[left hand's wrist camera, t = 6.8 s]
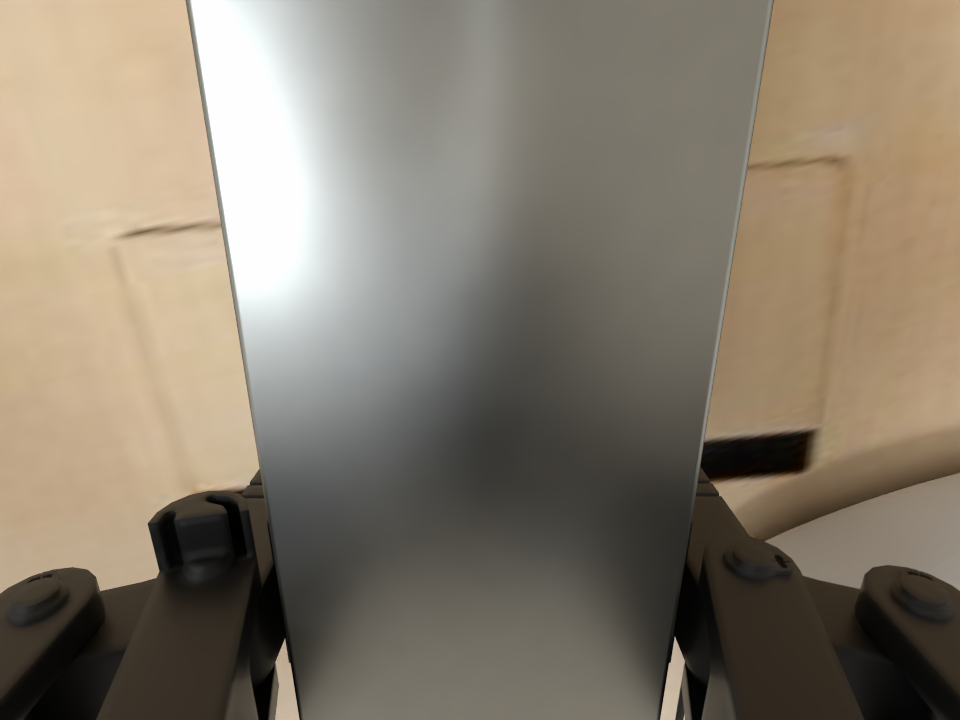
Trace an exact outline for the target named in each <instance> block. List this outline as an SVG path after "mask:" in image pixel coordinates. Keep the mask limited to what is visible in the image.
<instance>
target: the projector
mask: <svg viewBox="0 0 960 720" xmlns="http://www.w3.org/2000/svg"><path fill="white" fill-rule="evenodd" d="M764 542H767V543H769V544H771V545H773V546H775V547H777V548H779V549H780V550H781V551H783V552H784V553H785V554H787V555H788V556H789V557H791V558H792V559H793V561H794V562H795V564H796V565H797V566H798V568H799V569H800V571H801V573H802V575H803V576H806V577H810V578H813V579H817V580H821V581H825V582H830V583H835V584H839V585H844V586H849V587H853V588H858V589H860V588H861V584H862V581H863V578H864V574H865V573H867V572H868V571H869V570H870V569H871V568H873V567H878V566H884V565H893V566H901V567H908V568H911V569H916V570H918V571H922V572H925V573H928V574H931V575H933V576H934V577H936V578H938V579H940V580H942V581H944V582H946V583H948V584H950V585H952V586H954V587H955V588H956V589H958V590H959V591H960V473H957V474H953V475H949V476H946V477H942V478H938V479H935V480H931V481H927V482H924V483H920V484H916V485H913V486H910V487H907V488H904V489H900V490H897V491H894V492H891V493H888V494H884V495H881V496H878V497H875V498H872V499H869V500H867V501H864V502H861V503H858V504H855V505H852V506H849V507H846V508H844V509H841V510H838V511H836V512H833V513H830V514H828V515H825V516H822V517H820V518H817V519H815V520H812V521H810V522H807V523H805V524H802V525H800V526H798V527H795V528H793V529H790V530H788V531H786V532H783V533H781V534H779V535H777V536H775V537H773V538H770V539H768V540H766V541H764Z"/></svg>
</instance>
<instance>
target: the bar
mask: <svg viewBox="0 0 960 720" xmlns="http://www.w3.org/2000/svg"><path fill="white" fill-rule="evenodd" d="M773 2H774V0H186V5H187V11H188V18H189V24H190V30H191V37H192V43H193V49H194V56H195V62H196V68H197V75H198V81H199V87H200V93H201V100H202V106H203V112H204V119H205V125H206V131H207V138H208V144H209V150H210V157H211V163H212V169H213V176H214V182H215V188H216V194H217V201H218V207H219V213H220V220H221V226H222V232H223V239H224V245H225V251H226V258H227V264H228V270H229V277H230V283H231V289H232V295H233V302H234V308H235V314H236V321H237V327H238V333H239V340H240V346H241V352H242V359H243V365H244V371H245V378H246V384H247V390H248V396H249V403H250V409H251V415H252V422H253V428H254V434H255V441H256V447H257V453H258V460H259V466H260V472H261V478H262V485H263V491H264V497H265V504H266V510H267V516H268V523H269V529H270V535H271V542H272V548H273V554H274V561H275V567H276V573H277V579H278V586H279V592H280V598H281V605H282V611H283V617H284V624H285V630H286V636H287V643H288V649H289V655H290V662H291V668H292V674H293V680H294V687H295V693H296V699H297V706H298V712H299V718H300V720H660V716H661V709H662V703H663V697H664V691H665V684H666V678H667V672H668V665H669V659H670V653H671V646H672V640H673V634H674V627H675V621H676V615H677V608H678V602H679V596H680V589H681V583H682V577H683V571H684V564H685V558H686V552H687V545H688V539H689V533H690V526H691V520H692V514H693V507H694V501H695V495H696V488H697V482H698V476H699V469H700V463H701V457H702V450H703V444H704V438H705V432H706V425H707V419H708V413H709V406H710V400H711V394H712V387H713V381H714V375H715V368H716V362H717V356H718V349H719V343H720V337H721V330H722V324H723V318H724V311H725V305H726V299H727V293H728V286H729V280H730V274H731V267H732V261H733V255H734V248H735V242H736V236H737V229H738V223H739V217H740V210H741V204H742V198H743V191H744V185H745V179H746V172H747V166H748V160H749V154H750V147H751V141H752V135H753V128H754V122H755V116H756V109H757V103H758V97H759V90H760V84H761V78H762V71H763V65H764V59H765V52H766V46H767V40H768V34H769V27H770V21H771V15H772V8H773Z"/></svg>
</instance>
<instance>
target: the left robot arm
mask: <svg viewBox="0 0 960 720" xmlns="http://www.w3.org/2000/svg"><path fill="white" fill-rule="evenodd" d="M148 526H149V530H150V534H151V538H152V542H153V546H154V550H155V554H156V558H157V562H158V566H159V570H160V572H159V574H158V576H157V578H155V579H152V580H148V581H145V582H141V583H136V584H132V585H127V586H122V587H118V588H113V589H109V590H104V591H100V589H99V586H98V583H97V579H96V577H95V576H94V575H93V574H92V573H91V572H89V571H88V570H85V569H79V568H73V567H72V568H64V569H55V570H51V571H47V572H43V573H41V574H37V575H34V576H31V577H29V578H27V579H25V580H23V581H21V582H19V583H17V584H15V585H13V586H11V587H9V588H8V589H6V590H5V591H4V592H2V593H1V594H0V720H275V715H276V706H277V697H278V688H279V684H278V677H277V670H276V664H275V661H276V659H277V656H278V654H279V651H280V649H281V647H282V644H283V642H284V639H285V640H286V646H287V652H288V659H289V663H291V662H290V655H289V649H288V643H287V636H286V630H285V624H284V617H283V611H282V605H281V598H280V592H279V586H278V579H277V573H276V567H275V561H274V554H273V548H272V542H271V535H270V529H269V523H268V516H267V510H266V504H265V497H264V491H263V485H262V478H261V472H260V469H259V470H258V472H257V473H256V475H255V476H254V477H253V479H252V480H251V482H250V485H248V486H247V487H246V489H245V490H244V492H243V493H242V494H241V495H240V494H238V493H234V492H229V491H207V492H202V493H198V494H193V495H189V496H187V497H184V498H182V499H180V500H177V501H175V502H172V503H171V504H169V505H168V506H166V507H165V508H163V509H162V510H160V511H159V512H157V513H156V514H155V516H154V517H153V518H152V519H151V520H150V522H149V523H148ZM674 637H676V640H677V642H678V645H679V647H680V650H681V652H682V655H683V657H684V659H685V664H684V670H683V676H682V682H681V688H680V694H679V699H678V705H677V712H676V719H675V720H683V718H684V714H685V720H960V591H959V590H958V589H956V588H955V587H954V586H952V585H950V584H948V583H946V582H944V581H942V580H940V579H938V578H936V577H934V576H933V575H931V574H928V573H925V572H922V571H918V570H916V569H911V568H908V567H901V566H893V565H884V566H878V567H873V568H871V569H870V570H869V571H868V572H867V573H865V574H864V578H863V581H862V584H861V588H860V589H858V588H853V587H849V586H844V585H839V584H835V583H830V582H825V581H821V580H817V579H813V578H810V577H806V576H803V575H802V573H801V571H800V569H799V568H798V566H797V565H796V564H795V562H794V561H793V559H792V558H791V557H789V556H788V555H787V554H785V553H784V552H783V551H781V550H780V549H779V548H777V547H775V546H773V545H771V544H769V543H767V542H764V541H762V540H760V539H756V538H752V537H750V536H749V535H748V533H747V532H746V531H745V529H744V528H743V526H742V525H741V524H740V522H739V521H738V519H737V518H736V517H735V515H734V514H733V512H732V511H731V510H730V508H729V507H728V505H727V504H726V502H725V501H724V500H723V498H722V497H721V496H719V493H718V491H717V490H716V488H715V487H714V486H713V484H710V480H709V479H708V477H707V476H706V474H705V473H704V471H703V470H702V469H701V467H700V469H699V476H698V482H697V488H696V495H695V501H694V507H693V514H692V520H691V526H690V533H689V539H688V545H687V552H686V558H685V564H684V571H683V577H682V583H681V589H680V596H679V602H678V608H677V615H676V621H675V627H674V634H673V640H672V646H671V653H670V659H669V663H670V662H671V656H672V650H673V644H674Z"/></svg>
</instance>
